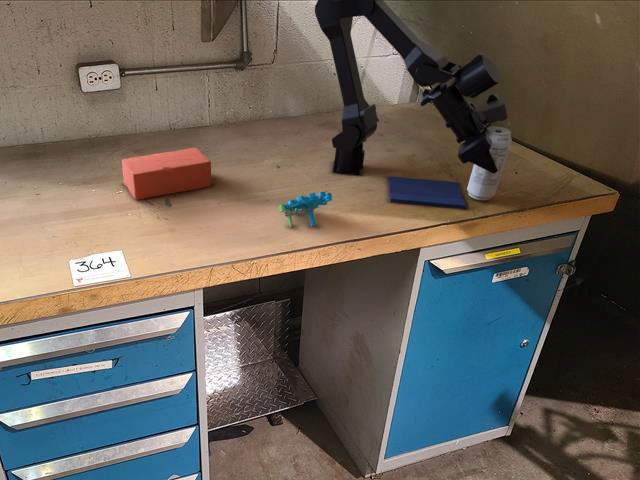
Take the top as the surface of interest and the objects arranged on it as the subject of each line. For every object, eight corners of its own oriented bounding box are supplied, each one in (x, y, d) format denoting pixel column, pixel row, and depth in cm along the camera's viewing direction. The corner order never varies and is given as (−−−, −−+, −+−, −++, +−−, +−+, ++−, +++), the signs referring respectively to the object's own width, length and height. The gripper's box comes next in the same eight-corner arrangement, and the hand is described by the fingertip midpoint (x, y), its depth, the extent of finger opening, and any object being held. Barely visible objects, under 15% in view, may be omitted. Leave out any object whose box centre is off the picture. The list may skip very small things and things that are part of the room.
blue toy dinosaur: (326, 200, 128) (335, 185, 118) (332, 227, 127) (342, 213, 118) (275, 210, 127) (281, 195, 117) (281, 237, 127) (287, 224, 117)
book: (390, 202, 132) (390, 198, 132) (388, 177, 143) (389, 174, 142) (465, 209, 130) (466, 205, 130) (457, 183, 141) (458, 180, 140)
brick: (196, 171, 143) (196, 147, 140) (211, 186, 137) (211, 161, 133) (123, 183, 137) (121, 158, 133) (135, 200, 130) (133, 174, 127)
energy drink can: (496, 193, 135) (516, 128, 126) (490, 204, 131) (511, 137, 122) (469, 187, 138) (487, 122, 129) (463, 196, 133) (481, 131, 124)
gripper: (492, 98, 114) (535, 162, 118) (490, 72, 128) (528, 130, 132) (440, 133, 120) (482, 192, 124) (443, 104, 135) (481, 158, 139)
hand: (495, 166), depth 130 cm, fingers closed on energy drink can, 6 cm apart
